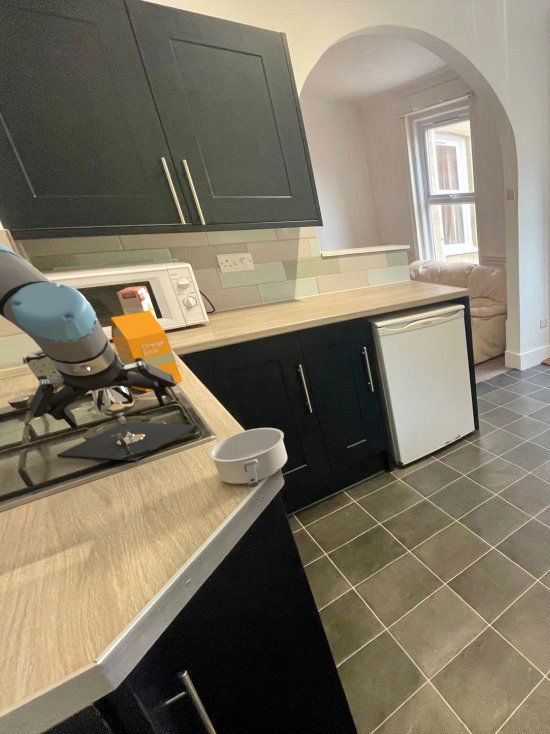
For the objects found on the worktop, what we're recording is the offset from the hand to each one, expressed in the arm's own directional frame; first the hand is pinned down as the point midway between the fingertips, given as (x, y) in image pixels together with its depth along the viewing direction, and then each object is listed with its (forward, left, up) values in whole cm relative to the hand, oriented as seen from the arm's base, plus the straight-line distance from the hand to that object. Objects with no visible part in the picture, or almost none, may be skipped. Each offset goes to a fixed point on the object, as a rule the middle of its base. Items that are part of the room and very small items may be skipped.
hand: (119, 411), depth 85 cm
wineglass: (+1, -1, -6) cm, 6 cm away
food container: (-52, +27, -7) cm, 59 cm away
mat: (+1, -1, -7) cm, 7 cm away
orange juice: (-24, +28, -7) cm, 37 cm away
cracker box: (-61, +61, -7) cm, 87 cm away
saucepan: (+38, -11, -7) cm, 40 cm away
